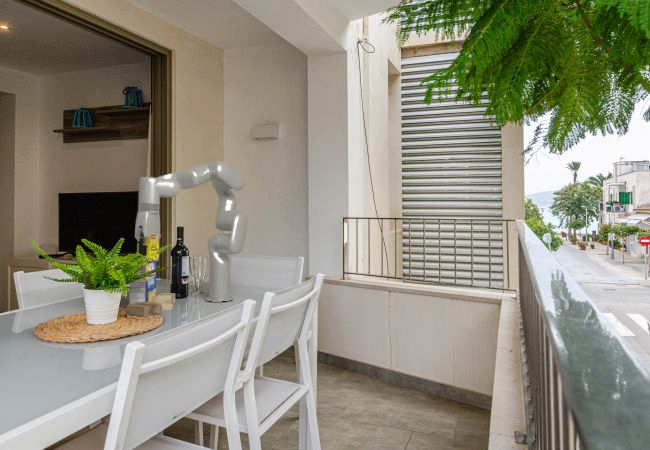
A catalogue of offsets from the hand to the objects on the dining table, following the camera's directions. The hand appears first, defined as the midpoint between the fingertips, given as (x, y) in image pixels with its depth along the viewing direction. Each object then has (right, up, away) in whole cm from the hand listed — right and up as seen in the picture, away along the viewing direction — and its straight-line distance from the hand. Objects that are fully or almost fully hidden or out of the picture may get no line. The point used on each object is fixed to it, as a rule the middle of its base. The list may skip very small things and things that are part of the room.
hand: (147, 254), depth 172 cm
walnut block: (-1, -24, 0) cm, 24 cm away
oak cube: (+1, -24, +15) cm, 29 cm away
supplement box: (0, -3, 0) cm, 3 cm away
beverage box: (-9, -24, +18) cm, 31 cm away
